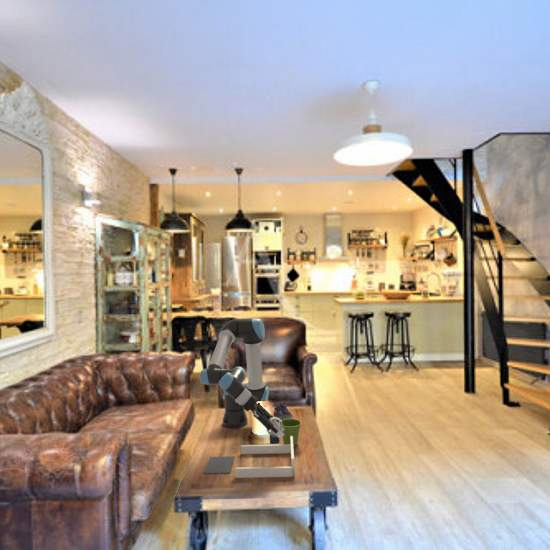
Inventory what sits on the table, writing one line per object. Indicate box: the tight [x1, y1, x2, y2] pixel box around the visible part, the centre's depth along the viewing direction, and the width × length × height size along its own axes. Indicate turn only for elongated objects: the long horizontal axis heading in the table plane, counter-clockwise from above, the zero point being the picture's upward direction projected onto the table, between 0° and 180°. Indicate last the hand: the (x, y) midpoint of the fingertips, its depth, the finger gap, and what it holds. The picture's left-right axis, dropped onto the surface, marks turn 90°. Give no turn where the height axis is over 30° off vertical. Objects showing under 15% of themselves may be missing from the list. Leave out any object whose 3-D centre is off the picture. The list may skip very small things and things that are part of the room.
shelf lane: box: [235, 436, 295, 479], centre depth 189 cm, size 24×26×8 cm
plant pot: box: [279, 418, 302, 447], centre depth 211 cm, size 12×12×11 cm
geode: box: [272, 402, 293, 425], centre depth 245 cm, size 20×12×10 cm, turn 9°
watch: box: [266, 416, 283, 445], centre depth 189 cm, size 6×8×11 cm
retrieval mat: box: [203, 455, 235, 475], centre depth 190 cm, size 16×12×1 cm
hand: (282, 433), depth 189 cm, fingers closed on watch, 5 cm apart
